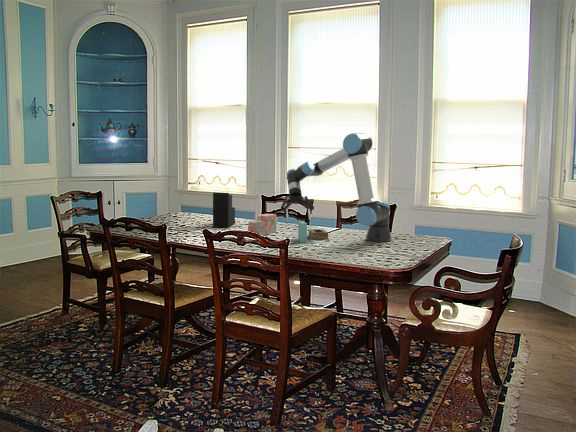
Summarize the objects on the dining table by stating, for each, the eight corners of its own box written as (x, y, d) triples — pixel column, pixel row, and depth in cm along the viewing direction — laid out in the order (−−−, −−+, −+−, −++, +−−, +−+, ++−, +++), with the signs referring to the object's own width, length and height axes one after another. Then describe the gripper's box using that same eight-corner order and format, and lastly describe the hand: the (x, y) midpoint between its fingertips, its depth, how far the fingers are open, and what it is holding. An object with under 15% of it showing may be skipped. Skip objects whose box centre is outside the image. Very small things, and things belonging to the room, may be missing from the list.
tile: (298, 240, 345) (298, 221, 344) (303, 240, 346) (304, 221, 344) (300, 242, 337) (301, 223, 336) (306, 242, 338) (307, 223, 336)
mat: (289, 239, 348) (289, 239, 348) (309, 239, 350) (309, 238, 350) (294, 244, 333) (294, 243, 333) (315, 244, 335) (315, 243, 335)
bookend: (220, 222, 411) (220, 189, 408) (235, 223, 409) (236, 189, 406) (212, 227, 388) (212, 192, 385) (228, 228, 386) (228, 193, 383)
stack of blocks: (255, 237, 354) (256, 217, 352) (247, 236, 357) (247, 216, 356) (276, 233, 371) (276, 214, 369) (268, 232, 375) (268, 213, 373)
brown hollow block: (307, 236, 360) (308, 229, 360) (323, 236, 362) (323, 229, 361) (312, 240, 347) (312, 232, 347) (328, 240, 349) (329, 232, 349)
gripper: (313, 194, 366) (318, 222, 353) (274, 194, 362) (277, 222, 349) (315, 187, 360) (320, 214, 347) (275, 187, 356) (279, 214, 343)
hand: (298, 218), depth 348 cm, fingers open, 13 cm apart
